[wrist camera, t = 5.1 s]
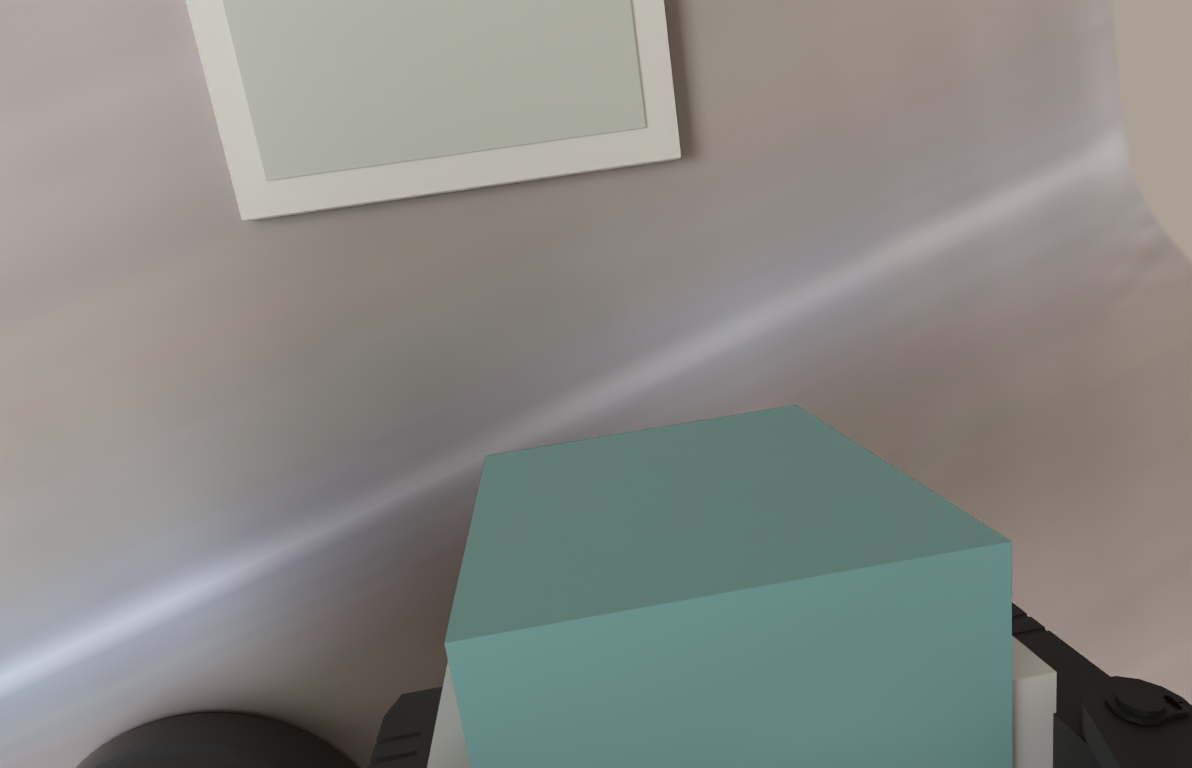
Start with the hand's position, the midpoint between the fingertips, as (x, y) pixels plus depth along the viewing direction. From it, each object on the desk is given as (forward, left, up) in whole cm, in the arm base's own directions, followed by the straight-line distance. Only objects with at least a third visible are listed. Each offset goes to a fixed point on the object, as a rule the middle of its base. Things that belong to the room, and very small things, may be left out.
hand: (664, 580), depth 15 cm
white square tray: (-4, +18, -13) cm, 22 cm away
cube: (0, 0, 0) cm, 0 cm away
